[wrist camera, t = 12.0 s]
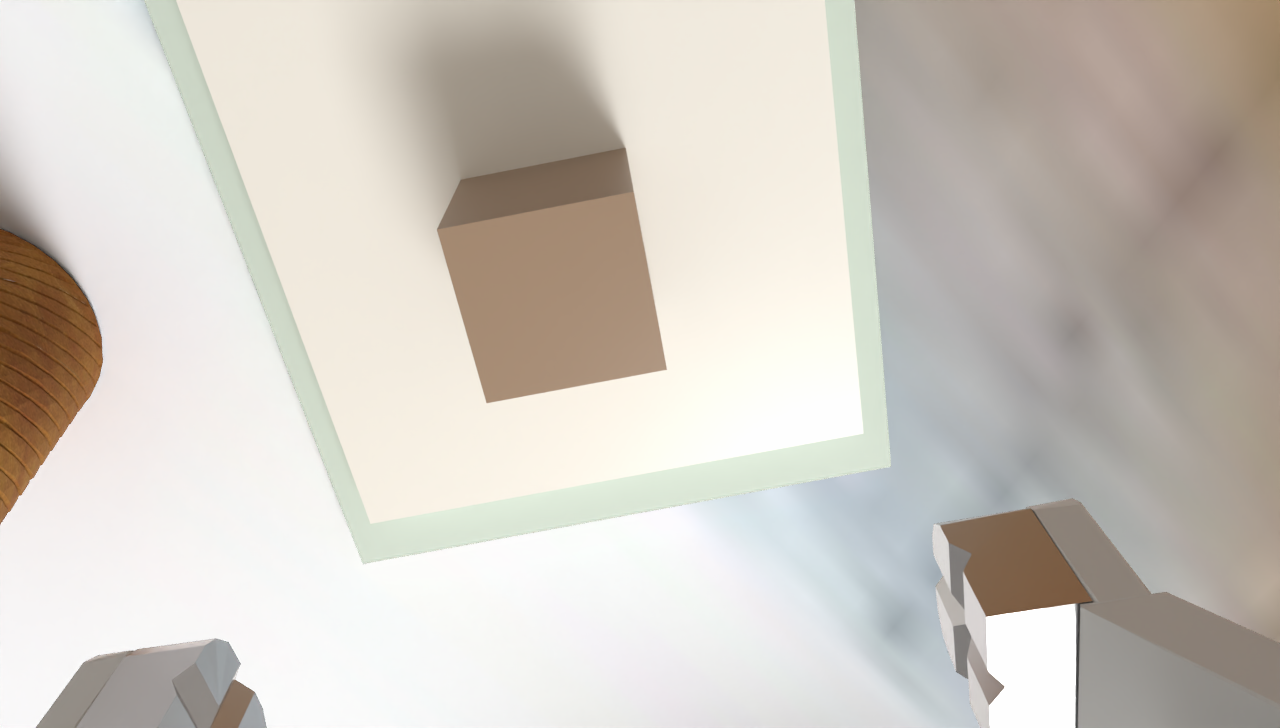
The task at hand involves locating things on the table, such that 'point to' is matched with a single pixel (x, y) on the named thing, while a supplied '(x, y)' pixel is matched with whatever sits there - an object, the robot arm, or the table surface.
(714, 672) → the table surface
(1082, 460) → the table surface
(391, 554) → the mat
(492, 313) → the cover
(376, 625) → the table surface
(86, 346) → the disposable coffee cup
